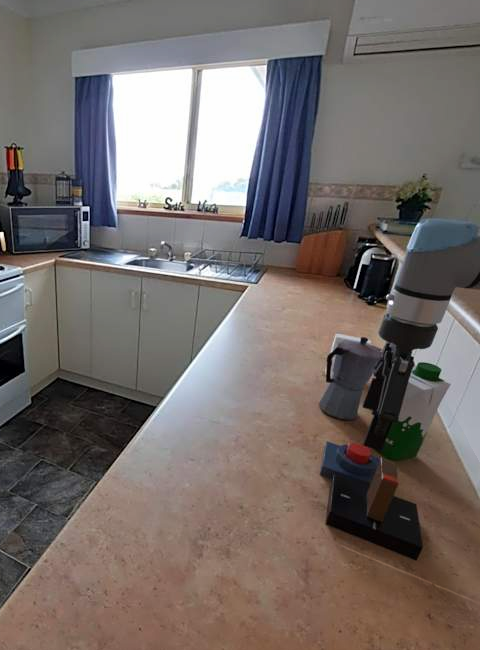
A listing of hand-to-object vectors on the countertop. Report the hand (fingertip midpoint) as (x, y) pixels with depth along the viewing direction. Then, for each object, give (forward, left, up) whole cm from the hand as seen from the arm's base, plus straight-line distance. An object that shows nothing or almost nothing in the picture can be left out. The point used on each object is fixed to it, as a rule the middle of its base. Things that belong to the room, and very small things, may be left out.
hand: (371, 426), depth 73 cm
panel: (-3, +11, -12) cm, 16 cm away
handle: (-3, +11, -9) cm, 14 cm away
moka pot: (+4, -24, -12) cm, 27 cm away
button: (0, -1, -8) cm, 8 cm away
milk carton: (-7, -14, -12) cm, 20 cm away
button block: (0, -1, -12) cm, 12 cm away
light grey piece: (+4, -46, -12) cm, 48 cm away
